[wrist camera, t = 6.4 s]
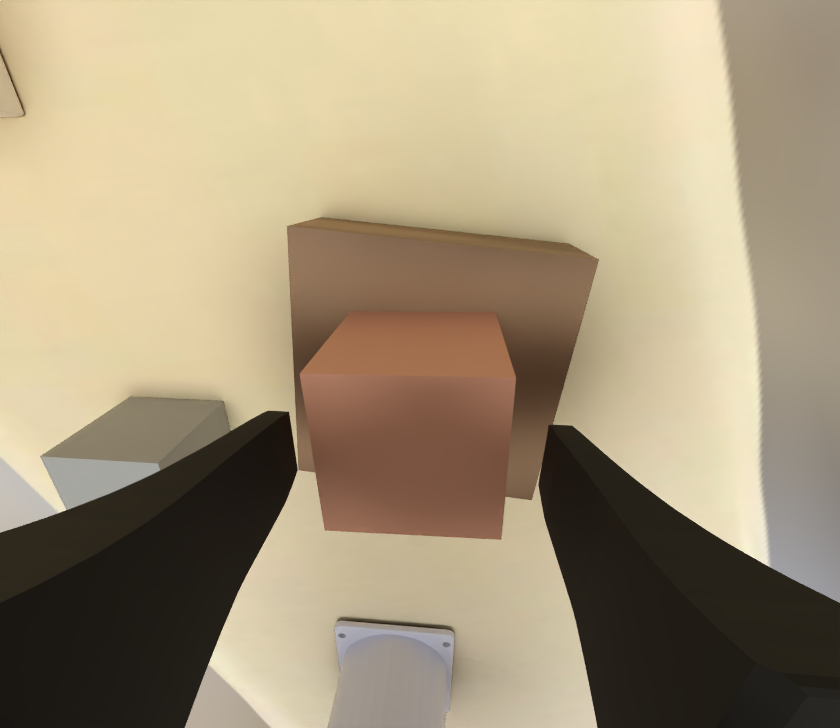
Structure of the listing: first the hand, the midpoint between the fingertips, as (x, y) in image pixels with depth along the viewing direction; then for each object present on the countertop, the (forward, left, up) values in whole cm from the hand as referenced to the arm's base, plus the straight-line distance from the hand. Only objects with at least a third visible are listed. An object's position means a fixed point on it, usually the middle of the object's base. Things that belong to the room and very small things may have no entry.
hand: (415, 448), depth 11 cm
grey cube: (-6, +13, -8) cm, 16 cm away
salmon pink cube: (0, 0, -4) cm, 4 cm away
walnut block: (0, 0, -8) cm, 8 cm away
